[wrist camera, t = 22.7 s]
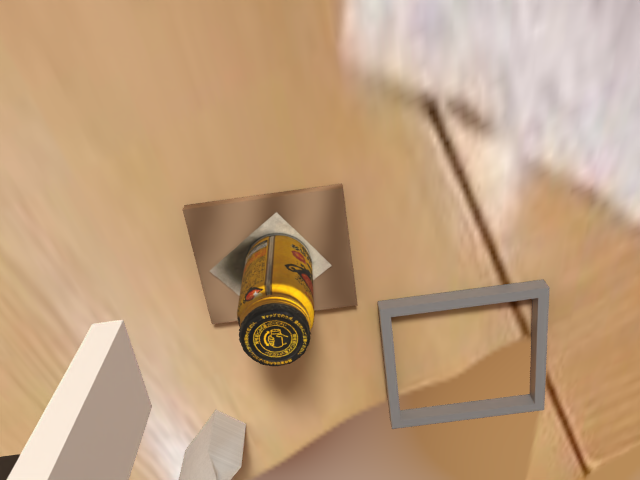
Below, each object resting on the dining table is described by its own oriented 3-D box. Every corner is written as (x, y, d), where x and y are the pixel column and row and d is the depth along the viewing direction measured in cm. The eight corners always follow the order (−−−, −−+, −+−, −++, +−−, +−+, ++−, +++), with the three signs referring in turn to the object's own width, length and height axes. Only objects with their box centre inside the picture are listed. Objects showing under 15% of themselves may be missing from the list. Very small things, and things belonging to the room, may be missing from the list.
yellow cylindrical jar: (331, 264, 54) (340, 342, 44) (265, 318, 57) (258, 404, 46) (276, 210, 52) (270, 279, 41) (209, 269, 54) (187, 348, 43)
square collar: (543, 279, 57) (549, 287, 56) (538, 400, 64) (544, 410, 62) (377, 301, 57) (379, 309, 56) (390, 418, 64) (392, 429, 63)
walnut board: (342, 183, 52) (342, 187, 51) (356, 299, 57) (357, 305, 56) (184, 205, 52) (182, 209, 52) (213, 318, 58) (211, 324, 57)
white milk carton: (185, 450, 65) (167, 530, 56) (215, 409, 63) (202, 486, 54) (215, 463, 66) (202, 543, 57) (246, 423, 64) (237, 501, 55)
